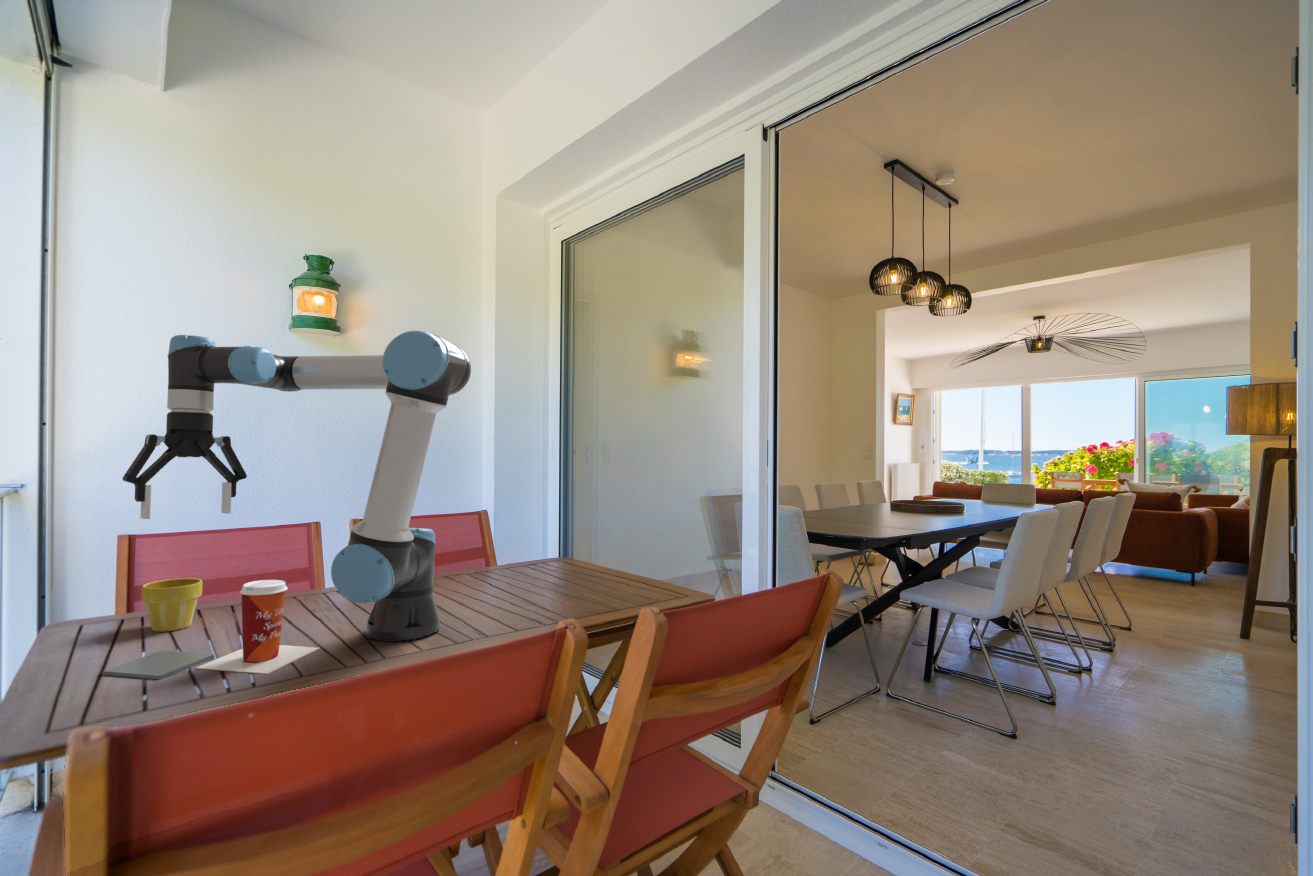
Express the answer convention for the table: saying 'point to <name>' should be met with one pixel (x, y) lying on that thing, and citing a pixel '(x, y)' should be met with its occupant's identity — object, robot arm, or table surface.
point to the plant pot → (171, 602)
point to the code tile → (265, 667)
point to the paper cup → (262, 619)
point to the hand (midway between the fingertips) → (187, 515)
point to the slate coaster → (158, 664)
